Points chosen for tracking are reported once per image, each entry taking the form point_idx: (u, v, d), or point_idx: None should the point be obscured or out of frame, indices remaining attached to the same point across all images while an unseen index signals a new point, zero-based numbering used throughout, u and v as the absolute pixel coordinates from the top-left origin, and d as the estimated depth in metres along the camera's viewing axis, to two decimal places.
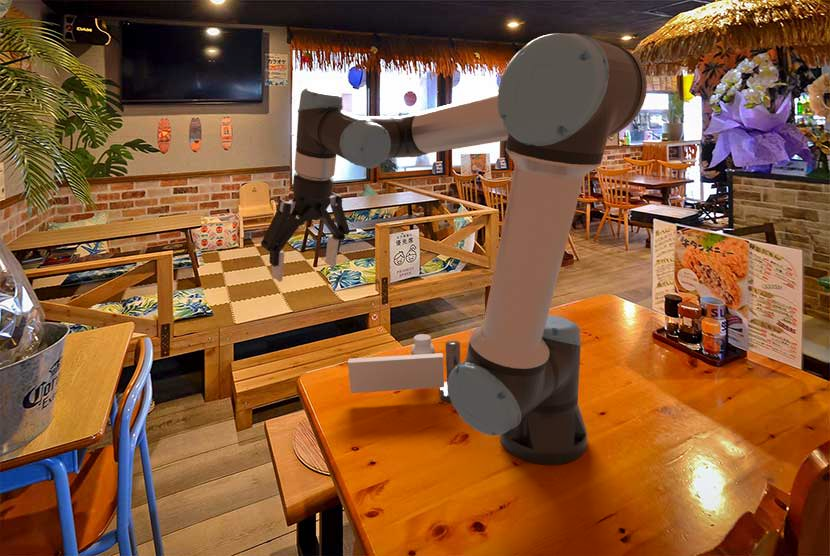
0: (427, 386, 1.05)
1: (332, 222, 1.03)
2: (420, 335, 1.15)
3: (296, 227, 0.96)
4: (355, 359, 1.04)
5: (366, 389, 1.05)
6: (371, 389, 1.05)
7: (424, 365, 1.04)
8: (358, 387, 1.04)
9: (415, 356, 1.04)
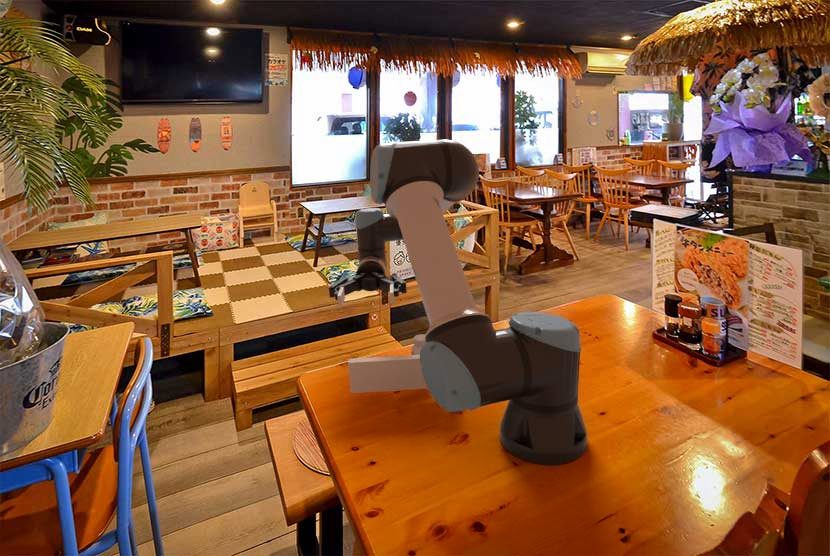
0: None
1: (386, 279, 1.19)
2: (420, 335, 1.15)
3: (354, 281, 1.20)
4: (355, 359, 1.04)
5: (366, 389, 1.05)
6: (371, 389, 1.05)
7: None
8: (358, 387, 1.04)
9: (415, 356, 1.04)
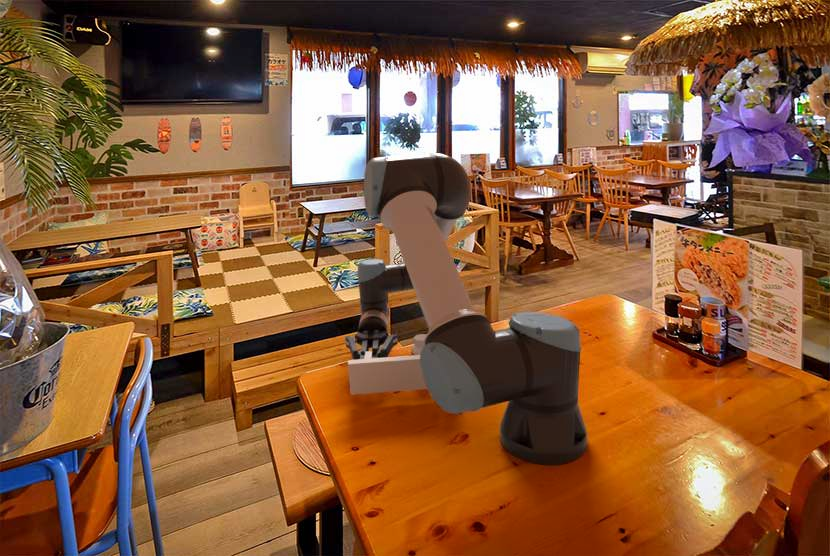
0: None
1: (376, 342, 1.16)
2: (420, 335, 1.15)
3: (365, 341, 1.17)
4: (355, 360, 1.03)
5: (366, 390, 1.04)
6: (371, 390, 1.04)
7: None
8: (358, 389, 1.04)
9: (415, 357, 1.04)
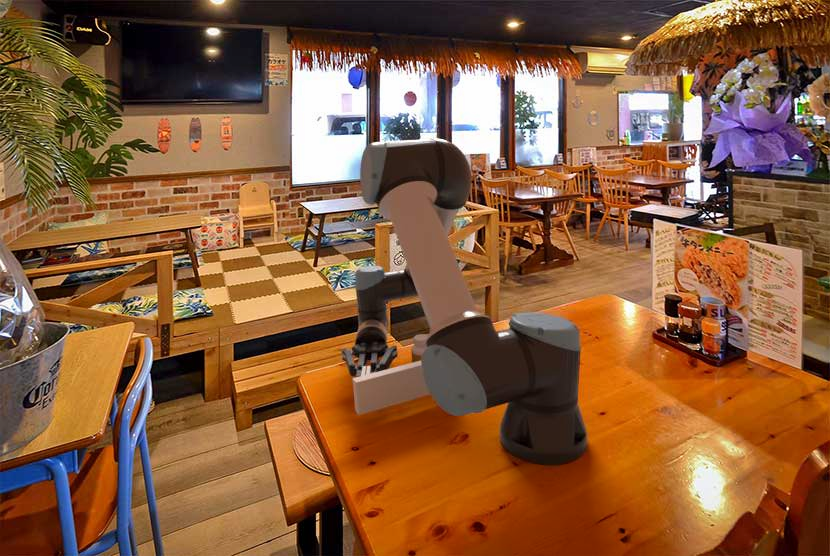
0: None
1: (375, 355, 1.09)
2: (420, 335, 1.15)
3: (363, 354, 1.10)
4: (360, 377, 0.96)
5: (374, 407, 0.97)
6: (379, 406, 0.98)
7: None
8: (366, 407, 0.96)
9: (419, 363, 1.01)
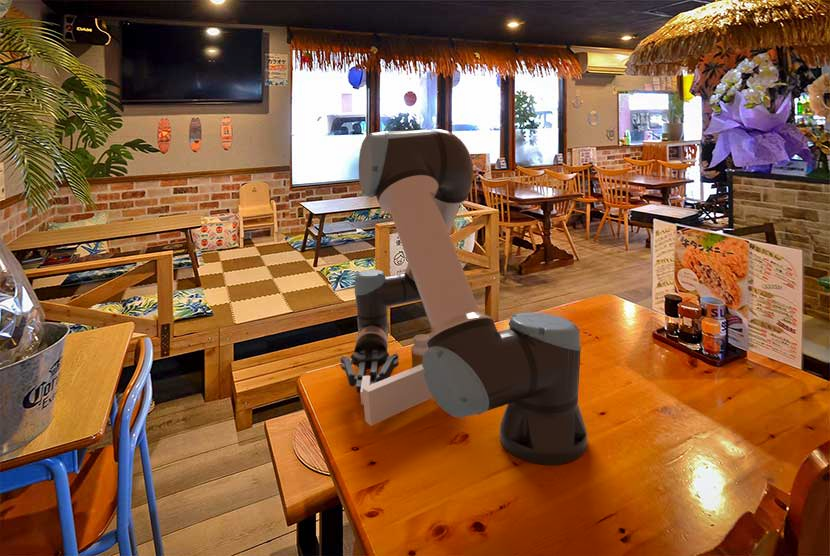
0: None
1: (375, 364, 1.05)
2: (420, 335, 1.15)
3: (363, 363, 1.05)
4: (370, 386, 0.92)
5: (385, 415, 0.94)
6: (390, 414, 0.95)
7: None
8: (378, 416, 0.93)
9: None
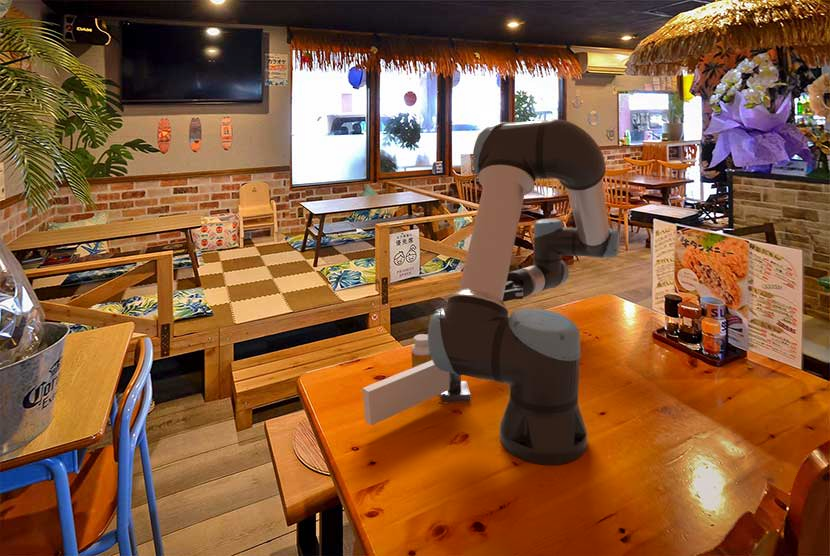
0: (436, 393, 1.02)
1: None
2: (420, 335, 1.15)
3: None
4: (370, 386, 0.92)
5: (385, 415, 0.94)
6: (390, 414, 0.95)
7: (434, 372, 1.00)
8: (378, 416, 0.93)
9: (423, 365, 1.00)
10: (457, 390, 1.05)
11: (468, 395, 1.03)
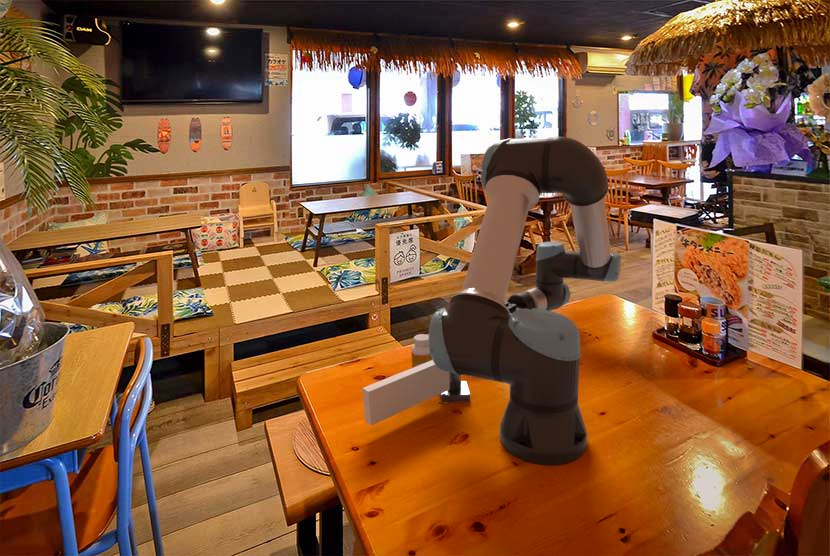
0: (436, 393, 1.02)
1: None
2: (420, 335, 1.15)
3: None
4: (370, 386, 0.92)
5: (385, 415, 0.94)
6: (390, 414, 0.95)
7: (434, 372, 1.00)
8: (378, 416, 0.93)
9: (423, 365, 1.00)
10: (457, 390, 1.05)
11: (468, 395, 1.03)
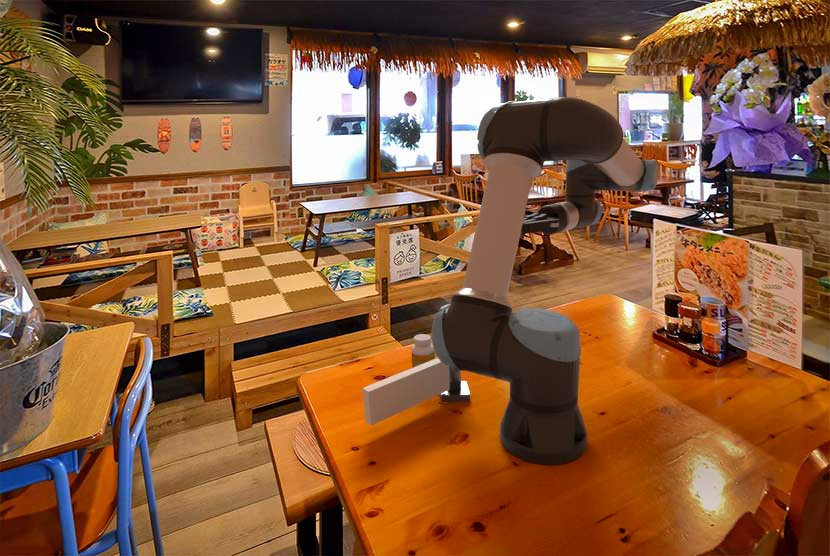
0: (436, 393, 1.02)
1: (530, 220, 1.20)
2: (420, 335, 1.15)
3: (525, 218, 1.22)
4: (370, 386, 0.92)
5: (385, 415, 0.94)
6: (390, 414, 0.95)
7: (434, 372, 1.00)
8: (378, 416, 0.93)
9: (423, 365, 1.00)
10: (457, 390, 1.05)
11: (468, 395, 1.03)
